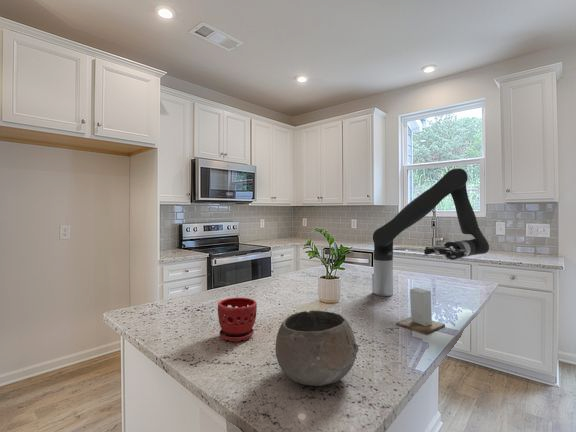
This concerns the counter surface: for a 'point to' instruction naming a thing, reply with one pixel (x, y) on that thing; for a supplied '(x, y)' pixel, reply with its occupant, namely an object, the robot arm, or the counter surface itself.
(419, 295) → the skincare box
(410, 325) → the walnut board
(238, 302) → the plant pot
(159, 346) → the counter surface
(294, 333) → the clay pot
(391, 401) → the counter surface
